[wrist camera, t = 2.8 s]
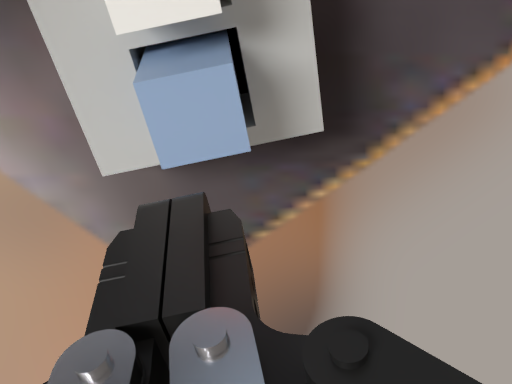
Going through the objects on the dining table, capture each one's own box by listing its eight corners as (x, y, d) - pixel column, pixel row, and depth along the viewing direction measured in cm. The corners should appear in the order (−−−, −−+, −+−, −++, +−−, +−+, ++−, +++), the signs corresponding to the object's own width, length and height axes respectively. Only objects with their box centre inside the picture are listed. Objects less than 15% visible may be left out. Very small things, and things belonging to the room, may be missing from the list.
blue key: (226, 30, 19) (232, 62, 15) (242, 105, 21) (251, 150, 17) (146, 46, 19) (132, 83, 15) (169, 121, 21) (161, 169, 17)
